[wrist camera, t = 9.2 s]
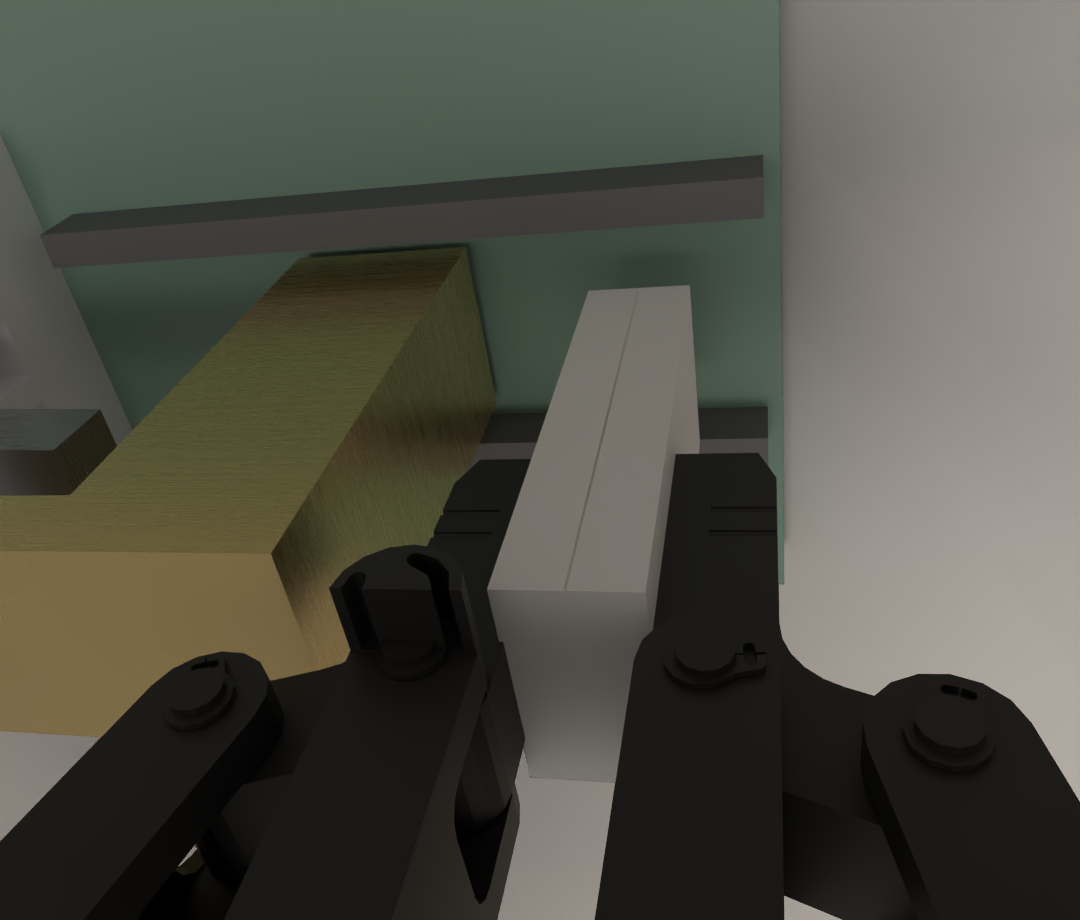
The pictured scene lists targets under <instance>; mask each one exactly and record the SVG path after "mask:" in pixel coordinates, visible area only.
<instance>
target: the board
mask: <svg viewBox="0 0 1080 920" xmlns="http://www.w3.org/2000/svg"><path fill="white" fill-rule="evenodd" d="M459 247H466V251H467V256H468V261H469V266H470V271H471V276H472V281H473V286H474V291H475V296H476V301H477V306H478V311H479V316H480V321H481V326H482V331H483V337H484V342H485V347H486V352H487V357H488V362H489V367H490V372H491V377H492V382H493V387H494V392H495V397H496V402H497V404H496V407H495V409H494V411H493V414H492V416H491V418H490V421H489V423H488V425H487V428H486V430H485V432H484V435H483V437H482V439H481V442H480V444H479V446H478V449H477V451H476V453H475V456H474V458H473V460H472V463H471V465H470V467H469V469H470V468H472V467H473V466H474V465H475V464H476V463H477V462H478V461H479V460H486V459H532V456H533V453H534V450H535V447H536V444H537V441H538V438H539V435H540V432H541V429H542V426H543V423H544V420H545V417H546V414H547V411H548V409H549V406H550V403H551V400H552V397H553V394H554V391H555V388H556V385H557V382H558V379H559V376H560V373H561V370H562V367H563V364H564V362H565V359H566V356H567V353H568V350H569V347H570V344H571V341H572V338H573V335H574V332H575V329H576V326H577V323H578V320H579V317H580V315H581V312H582V309H583V306H584V303H585V300H586V297H587V294H588V291H592V290H610V289H628V288H646V287H664V286H682V285H690V295H691V310H692V326H693V342H694V357H695V373H696V389H697V404H698V420H699V436H700V447H699V454H707V453H759V454H760V456H761V457H762V458H763V460H764V461H765V463H766V464H767V465H768V467H769V468H770V469H771V471H772V472H773V473H774V475H775V476H776V478H777V533H778V584H784V509H783V393H782V278H781V163H780V48H779V0H0V409H101V412H102V414H103V416H104V418H105V420H106V422H107V425H108V427H109V429H110V431H111V433H112V435H113V438H114V440H115V442H116V444H117V446H118V445H119V444H120V443H121V442H122V441H123V440H124V439H125V438H126V437H127V436H128V435H129V434H130V433H131V432H132V430H133V429H134V428H135V427H136V426H137V425H138V424H139V423H140V422H141V421H142V420H143V419H144V418H145V417H146V416H147V415H148V414H149V413H150V412H151V411H152V410H153V409H154V408H155V407H156V406H157V405H158V404H159V403H160V402H161V400H162V399H163V398H164V397H165V396H166V395H167V394H168V393H169V392H170V391H171V390H172V389H173V388H174V387H175V386H176V385H177V384H178V383H179V382H180V381H181V380H182V379H183V378H184V377H185V376H186V375H187V374H188V373H189V372H190V370H191V369H192V368H193V367H194V366H195V365H196V364H197V363H198V362H199V361H200V360H201V359H202V358H203V357H204V356H205V355H206V354H207V353H208V352H209V351H210V350H211V349H212V348H213V347H214V346H215V345H216V344H217V343H218V342H219V340H220V339H221V338H222V337H223V336H224V335H225V334H226V333H227V332H228V331H229V330H230V329H231V328H232V327H233V326H234V325H235V324H236V323H237V322H238V321H239V320H240V319H241V318H242V317H243V316H244V315H245V314H246V313H247V312H248V310H249V309H250V308H251V307H252V306H253V305H254V304H255V303H256V302H257V301H258V300H259V299H260V298H261V297H262V296H263V295H264V294H265V293H266V292H267V291H268V290H269V289H270V288H271V287H272V286H273V285H274V284H275V283H276V282H277V280H278V279H279V278H280V277H281V276H282V275H283V274H284V273H285V272H286V271H287V270H288V269H289V268H290V267H291V266H292V265H293V264H294V263H295V262H296V261H297V260H298V259H299V258H313V257H328V256H342V255H357V254H371V253H386V252H400V251H415V250H430V249H444V248H459Z"/></svg>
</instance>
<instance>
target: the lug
mask: <svg viewBox="0 0 1080 920" xmlns="http://www.w3.org/2000/svg"><path fill="white" fill-rule="evenodd" d="M496 404H497V402H496V397H495V392H494V387H493V382H492V377H491V372H490V367H489V362H488V357H487V352H486V347H485V342H484V337H483V331H482V326H481V321H480V316H479V311H478V306H477V301H476V296H475V291H474V286H473V281H472V276H471V271H470V266H469V261H468V256H467V251H466V247H459V248H444V249H430V250H415V251H400V252H386V253H371V254H357V255H342V256H328V257H313V258H299V259H298V260H297V261H296V262H295V263H294V264H293V265H292V266H291V267H290V268H289V269H288V270H287V271H286V272H285V273H284V274H283V275H282V276H281V277H280V278H279V279H278V280H277V282H276V283H275V284H274V285H273V286H272V287H271V288H270V289H269V290H268V291H267V292H266V293H265V294H264V295H263V296H262V297H261V298H260V299H259V300H258V301H257V302H256V303H255V304H254V305H253V306H252V307H251V308H250V309H249V310H248V312H247V313H246V314H245V315H244V316H243V317H242V318H241V319H240V320H239V321H238V322H237V323H236V324H235V325H234V326H233V327H232V328H231V329H230V330H229V331H228V332H227V333H226V334H225V335H224V336H223V337H222V338H221V339H220V340H219V342H218V343H217V344H216V345H215V346H214V347H213V348H212V349H211V350H210V351H209V352H208V353H207V354H206V355H205V356H204V357H203V358H202V359H201V360H200V361H199V362H198V363H197V364H196V365H195V366H194V367H193V368H192V369H191V370H190V372H189V373H188V374H187V375H186V376H185V377H184V378H183V379H182V380H181V381H180V382H179V383H178V384H177V385H176V386H175V387H174V388H173V389H172V390H171V391H170V392H169V393H168V394H167V395H166V396H165V397H164V398H163V399H162V400H161V402H160V403H159V404H158V405H157V406H156V407H155V408H154V409H153V410H152V411H151V412H150V413H149V414H148V415H147V416H146V417H145V418H144V419H143V420H142V421H141V422H140V423H139V424H138V425H137V426H136V427H135V428H134V429H133V430H132V432H131V433H130V434H129V435H128V436H127V437H126V438H125V439H124V440H123V441H122V442H121V443H120V444H119V445H118V446H117V447H116V448H115V449H114V450H113V451H112V452H111V453H110V454H109V455H108V456H107V457H106V458H105V459H104V460H103V462H102V463H101V464H100V465H99V466H98V467H97V468H96V469H95V470H94V471H93V472H92V473H91V474H90V475H89V476H88V477H87V478H86V479H85V480H84V481H83V482H82V483H81V484H80V485H79V486H78V487H77V488H76V489H75V490H74V492H73V493H72V494H71V495H25V496H0V731H12V732H28V733H44V734H60V735H76V736H92V737H102V736H103V735H104V734H105V733H106V732H107V731H108V730H109V729H110V728H111V727H112V726H113V725H114V724H115V722H116V721H117V720H118V719H119V718H120V717H121V716H122V715H123V714H124V713H125V712H126V711H127V710H128V709H129V708H130V707H131V706H132V705H133V704H134V703H135V702H136V701H137V700H138V699H139V698H140V697H141V696H142V695H143V694H144V693H145V692H146V690H147V689H148V688H149V687H150V686H151V685H153V684H154V683H155V682H156V681H158V680H159V679H160V678H161V677H163V676H164V675H165V674H166V673H168V672H169V671H170V670H171V669H173V668H175V667H177V666H179V665H181V664H183V663H185V662H187V661H189V660H191V659H194V658H196V657H199V656H203V655H208V654H212V653H217V652H221V651H223V652H237V653H245V654H247V655H249V656H250V657H252V658H254V659H256V660H258V661H260V662H261V664H262V666H263V668H264V670H265V672H266V673H267V675H268V677H269V680H270V681H271V680H276V679H280V678H285V677H289V676H294V675H299V674H303V673H308V672H312V671H317V670H321V669H325V668H328V667H331V666H334V665H338V664H341V663H343V662H345V661H346V659H347V657H348V655H349V652H350V647H349V644H348V642H347V639H346V636H345V633H344V630H343V627H342V624H341V622H340V619H339V616H338V613H337V610H336V607H335V604H334V602H333V599H332V596H331V593H330V590H329V587H330V586H331V585H332V584H333V582H334V581H335V580H336V579H337V577H338V576H339V575H340V574H341V572H342V571H343V570H345V569H346V568H348V567H349V566H351V565H352V564H354V563H355V562H357V561H358V560H360V559H361V558H363V557H364V556H367V555H370V554H372V553H375V552H378V551H380V550H383V549H386V548H389V547H397V546H405V545H413V544H415V545H421V546H427V545H428V543H429V541H430V538H431V537H433V536H434V533H433V531H434V529H435V527H436V525H437V522H438V520H439V518H440V515H443V509H444V506H445V504H446V502H447V499H448V497H449V495H450V493H451V490H452V488H453V486H454V483H455V482H456V481H458V480H459V479H460V478H461V477H462V476H463V475H464V474H465V473H466V472H467V471H468V470H469V467H470V465H471V463H472V460H473V458H474V456H475V453H476V451H477V449H478V446H479V444H480V442H481V439H482V437H483V435H484V432H485V430H486V428H487V425H488V423H489V421H490V418H491V416H492V414H493V411H494V409H495V407H496Z"/></svg>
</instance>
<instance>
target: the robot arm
mask: <svg viewBox="0 0 1080 920" xmlns="http://www.w3.org/2000/svg"><path fill="white" fill-rule="evenodd" d="M699 447H700V436H699V420H698V404H697V389H696V373H695V357H694V342H693V326H692V310H691V295H690V285H682V286H664V287H646V288H628V289H610V290H592V291H588V294H587V297H586V300H585V303H584V306H583V309H582V312H581V315H580V317H579V320H578V323H577V326H576V329H575V332H574V335H573V338H572V341H571V344H570V347H569V350H568V353H567V356H566V359H565V362H564V364H563V367H562V370H561V373H560V376H559V379H558V382H557V385H556V388H555V391H554V394H553V397H552V400H551V403H550V406H549V409H548V411H547V414H546V417H545V420H544V423H543V426H542V429H541V432H540V435H539V438H538V441H537V444H536V447H535V450H534V453H533V456H532V459H486V460H479V461H478V462H477V463H476V464H475V465H474V466H473V467H472V468H470V469H469V470H468V471H467V472H466V473H465V474H464V475H463V476H462V477H461V478H460V479H459V480H458V481H456V482H455V483H454V486H453V488H452V490H451V493H450V495H449V497H448V499H447V502H446V504H445V506H444V509H443V515H440V518H439V520H438V522H437V525H436V527H435V529H434V531H433V533H434V536H433V537H431V538H430V541H429V543H428V545H427V546H421V545H415V544H413V545H405V546H397V547H389V548H386V549H383V550H380V551H378V552H375V553H372V554H370V555H367V556H364V557H363V558H361V559H360V560H358V561H357V562H355V563H354V564H352V565H351V566H349V567H348V568H346V569H345V570H343V571H342V572H341V574H340V575H339V576H338V577H337V579H336V580H335V581H334V582H333V584H332V585H331V586H330V587H329V590H330V593H331V596H332V599H333V602H334V604H335V607H336V610H337V613H338V616H339V619H340V622H341V624H342V627H343V630H344V633H345V636H346V639H347V642H348V644H349V647H350V652H349V655H348V657H347V659H346V661H345V662H343V663H341V664H338V665H334V666H331V667H328V668H325V669H321V670H317V671H312V672H308V673H303V674H299V675H294V676H289V677H285V678H280V679H276V680H271V681H270V680H269V677H268V675H267V673H266V672H265V670H264V668H263V666H262V664H261V662H260V661H258V660H256V659H254V658H252V657H250V656H249V655H247V654H245V653H237V652H223V651H221V652H217V653H212V654H208V655H203V656H199V657H196V658H194V659H191V660H189V661H187V662H185V663H183V664H181V665H179V666H177V667H175V668H173V669H171V670H170V671H169V672H168V673H166V674H165V675H164V676H163V677H161V678H160V679H159V680H158V681H156V682H155V683H154V684H153V685H151V686H150V687H149V688H148V689H147V690H146V692H145V693H144V694H143V695H142V696H141V697H140V698H139V699H138V700H137V701H136V702H135V703H134V704H133V705H132V706H131V707H130V708H129V709H128V710H127V711H126V712H125V713H124V714H123V715H122V716H121V717H120V718H119V719H118V720H117V721H116V722H115V724H114V725H113V726H112V727H111V728H110V729H109V730H108V731H107V732H106V733H105V734H104V735H103V736H102V737H101V738H100V739H99V740H98V741H97V742H96V743H95V744H94V745H93V746H92V747H91V748H90V749H89V750H88V751H87V752H86V753H85V754H84V756H83V757H82V758H81V759H80V760H79V761H78V762H77V763H76V764H75V765H74V766H73V767H72V768H71V769H70V770H69V771H68V772H67V773H66V774H65V775H64V776H63V777H62V778H61V779H60V780H59V781H58V782H57V783H56V784H55V785H54V786H53V788H52V789H51V790H50V791H49V792H48V793H47V794H46V795H45V796H44V797H43V798H42V799H41V800H40V801H39V802H38V803H37V804H36V805H35V806H34V807H33V808H32V809H31V810H30V811H29V812H28V813H27V814H26V815H25V816H24V817H23V818H22V820H21V821H20V822H19V823H18V824H17V825H16V826H15V827H14V828H13V829H12V830H11V831H10V832H9V833H8V834H7V835H6V836H5V837H4V838H3V839H2V840H1V841H0V920H497V919H498V914H499V910H500V906H501V901H502V897H503V893H504V888H505V884H506V880H507V875H508V871H509V867H510V862H511V858H512V854H513V849H514V845H515V841H516V836H517V832H518V828H519V823H520V803H519V799H518V795H517V791H516V787H515V783H514V782H515V778H516V774H517V770H518V766H519V762H520V758H521V754H522V750H523V748H524V752H525V756H526V761H527V765H528V769H529V774H530V777H535V778H550V779H566V780H581V781H596V782H612V783H615V789H614V795H613V802H612V809H611V815H610V822H609V829H608V835H607V842H606V849H605V855H604V862H603V869H602V875H601V882H600V889H599V895H598V902H597V909H596V915H595V920H784V896H787V897H789V898H792V899H794V900H796V901H799V902H801V903H804V904H806V905H808V906H811V907H813V908H816V909H818V910H821V911H823V912H825V913H828V914H830V915H833V916H835V917H837V918H840V919H842V920H1080V801H1079V800H1078V798H1077V797H1076V795H1075V793H1074V792H1073V790H1072V788H1071V787H1070V785H1069V783H1068V782H1067V780H1066V779H1065V777H1064V775H1063V774H1062V772H1061V770H1060V769H1059V767H1058V765H1057V764H1056V762H1055V760H1054V759H1053V757H1052V756H1051V754H1050V752H1049V751H1048V749H1047V747H1046V746H1045V744H1044V742H1043V741H1042V739H1041V738H1040V736H1039V734H1038V733H1037V731H1036V729H1035V728H1034V726H1033V724H1032V723H1031V722H1030V721H1029V720H1028V718H1027V717H1026V716H1025V715H1024V714H1023V713H1022V712H1021V711H1020V710H1019V708H1018V707H1017V706H1016V705H1015V704H1014V703H1013V702H1012V701H1011V700H1010V699H1008V698H1007V697H1005V696H1003V695H1002V694H1000V693H998V692H996V691H995V690H993V689H991V688H990V687H988V686H986V685H985V684H983V683H980V682H976V681H973V680H969V679H965V678H962V677H958V676H954V675H951V674H917V675H914V676H910V677H907V678H904V679H900V680H897V681H894V682H891V683H890V684H888V685H887V686H886V687H885V688H883V689H882V690H881V691H880V692H879V693H877V694H876V695H875V696H873V695H869V694H866V693H863V692H859V691H856V690H852V689H849V688H846V687H843V686H840V685H838V684H835V683H833V682H830V681H827V680H825V679H822V678H821V677H819V676H818V675H816V674H815V673H813V672H811V671H810V670H808V669H807V668H805V667H804V666H803V665H802V664H801V663H800V662H799V661H798V660H797V659H796V658H795V657H794V656H793V655H792V654H791V653H790V651H789V650H788V648H787V646H786V644H785V643H784V641H783V639H782V635H781V630H780V625H779V586H778V533H777V478H776V476H775V475H774V473H773V472H772V471H771V469H770V468H769V467H768V465H767V464H766V463H765V461H764V460H763V458H762V457H761V456H760V454H759V453H707V454H699ZM194 845H195V846H196V848H197V850H196V851H195V852H194V853H193V855H192V856H190V857H189V858H188V859H187V860H186V861H185V862H184V863H183V864H182V865H180V866H178V865H179V864H180V863H181V862H182V860H183V859H184V858H185V857H186V855H187V854H188V853H189V851H190V850H191V849H192V848H193V846H194Z"/></svg>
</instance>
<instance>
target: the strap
mask: <svg viewBox="0 0 1080 920" xmlns="http://www.w3.org/2000/svg"><path fill="white" fill-rule="evenodd" d="M116 447H117V444H116V442H115V440H114V438H113V435H112V433H111V431H110V429H109V427H108V425H107V422H106V420H105V418H104V416H103V414H102V412H101V409H0V496H25V495H71V494H72V493H73V492H74V490H75V489H76V488H77V487H78V486H79V485H80V484H81V483H82V482H83V481H84V480H85V479H86V478H87V477H88V476H89V475H90V474H91V473H92V472H93V471H94V470H95V469H96V468H97V467H98V466H99V465H100V464H101V463H102V462H103V460H104V459H105V458H106V457H107V456H108V455H109V454H110V453H111V452H112V451H113V450H114V449H115V448H116Z"/></svg>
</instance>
